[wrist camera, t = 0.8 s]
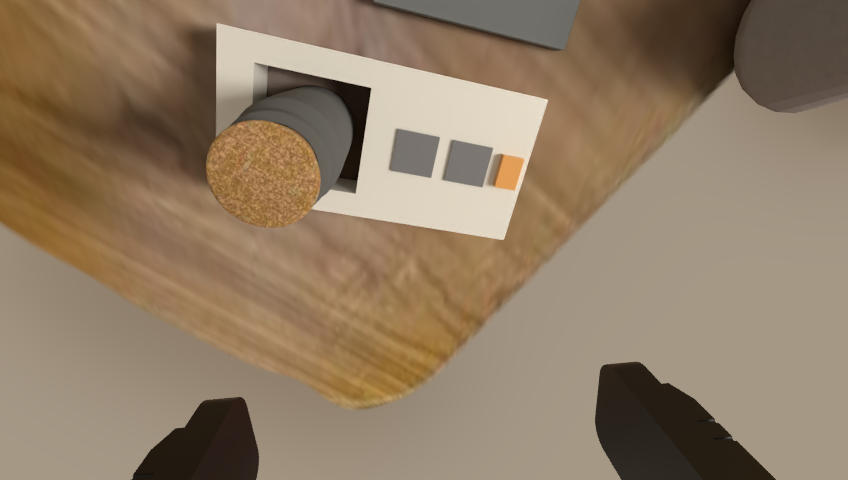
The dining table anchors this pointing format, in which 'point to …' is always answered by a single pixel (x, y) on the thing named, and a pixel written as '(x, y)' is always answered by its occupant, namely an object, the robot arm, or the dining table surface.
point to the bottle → (280, 156)
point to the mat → (501, 17)
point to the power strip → (402, 134)
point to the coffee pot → (793, 53)
